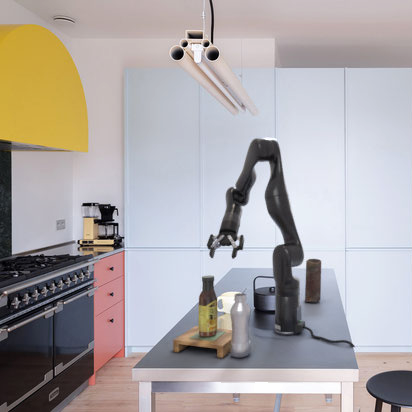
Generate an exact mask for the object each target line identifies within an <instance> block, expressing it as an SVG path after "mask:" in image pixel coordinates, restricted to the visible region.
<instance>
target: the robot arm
mask: <svg viewBox="0 0 412 412" xmlns="http://www.w3.org/2000/svg"><path fill="white" fill-rule="evenodd" d="M258 163H268V165H269V170H270V175H269V180H268V183H267V185H266V187H265V191H264V201H265V206H266V210H267V214H268V215H269V217H270V218H271V220H272V221H273V223H274V224H275V225H276V226H277V228H278V229H279V231H280V233H281V235H282V239H283V243H281V244H278V245H276V246H275V247H274V248H273V251H272V257H271V259H272V277H273V280H274V286H275V287H274V289H275V290H274V291H275V293H274V311H275V312H274V332H275V333H276V334H278V335H282V336H292V335H298V334H299V333H302V332H303V331H304V330H307V331H309V333H310V336H311V337H312V338H313V339H315V340H316V339H317V340H322V341H324V342H327V343H331V344H341V343H343V344H348V345H349V346H351V347H352V348H356V346H355V344H353V343H352V342H351V341H350V340H346V339H338V340H333V339H329V338H325V337H323V336H318V335H314V332H313V330H312V329H311V328H310V327H309V326H306V321H305V320H302V305H301V293H300V292H301V280H300V278H299V277H298V276H295V275H293V268H295V267H296V268H297V267H299V266H301V265H302V264H303V262H304V260H305V252H304V248H303V244H302V242H301V241H302V240H301V238H300V235H299V232H298V229H297V225H296V221H295V218H294V217H295V216H294V214H293V210H292V204H291V200H290V195H289V192H288V188H287V183H286V178H285V174H284V167H283V159H282V152H281V147H280V144H279V141H278V140H277V139H276V138H274V137H257V138H256V137H255V138H253V139H252V140H251V142H250V144H249V146H248V149H247V152H246V155H245V159H244V163H243V166H242V167H243V168H242V169H241V172H240V174H239V175H238V178H237V180H236V182H235V186H229V187H228V189H226V192H225V210H224V215H223V217H222V220H221V223H220V226H219V231H218V234H217V235H214V234H212V233H210V235H209V237H208V240H207V243H206V247H207V249H208V250H209V255H208V256H209V257H210V259H214V256H215V253H216V250H217V249H220V248H221V247H232V252H231V259H232V260H234V259H236V258H237V255H238V251H243V250H244V244H245V236H244V234H240V235H239V230H240V227H241V221H242V220H241V219H242V215H243V207H246V206H247V205H248V204H249V202H250V196H251V191H252V189H253V187H254V185H255V183H256V181H257V177H258V176H257V171H256V169H255V167H256V165H257V164H258ZM237 241H238V245H237V243H236V242H237ZM358 412H361V409H359V410H358Z"/></svg>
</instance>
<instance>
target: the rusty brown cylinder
mask: <svg viewBox="0 0 412 412" xmlns="http://www.w3.org/2000/svg"><path fill="white" fill-rule="evenodd" d="M305 262H306V263H305V287H304V301H305V302H306V303H318V302H320V301H321V297H322V296H321V295H322V293H321V292H322V260H321V259H318V258H308V259H306V261H305Z"/></svg>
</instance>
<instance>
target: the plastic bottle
mask: <svg viewBox="0 0 412 412" xmlns="http://www.w3.org/2000/svg"><path fill="white" fill-rule="evenodd" d="M247 299H248V297H247V294H246V293H244V292H239V293H234V299H233V301H234V303H233V304H232V307H231V308H230V313H229V314H230V321H231V330H232V338H231V344H230V352H229V354H230V355H231V356H232V357H234V358H245V357H248V356H249V354H250V353H251V351H252V346H251V340H250V339H251V338H250V321H251V315H252V309H251V307H250V305H249V304H248V303H247Z"/></svg>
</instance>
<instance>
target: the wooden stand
mask: <svg viewBox="0 0 412 412" xmlns="http://www.w3.org/2000/svg"><path fill="white" fill-rule="evenodd" d="M231 338H232V329H228V328H227V329H225V328H218V327H217V333H216V335H214V336H210V337H202V336H200V335H199V329H198V325H195V326H193V327H192V328H190V329H188V330H187V331H185V332H184V333H182V334H181V335H179V336H176V337H175V338H174V339H172V350H173V353H180V352H181V351H183V350H185V349H186V348H187V347H189V346H191V347H199V348H209V349H215V350H216V357H217V358H219V359H220V358H221V359H223V358H225V357H226V356H227V355H228V354H230V344H231Z"/></svg>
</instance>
